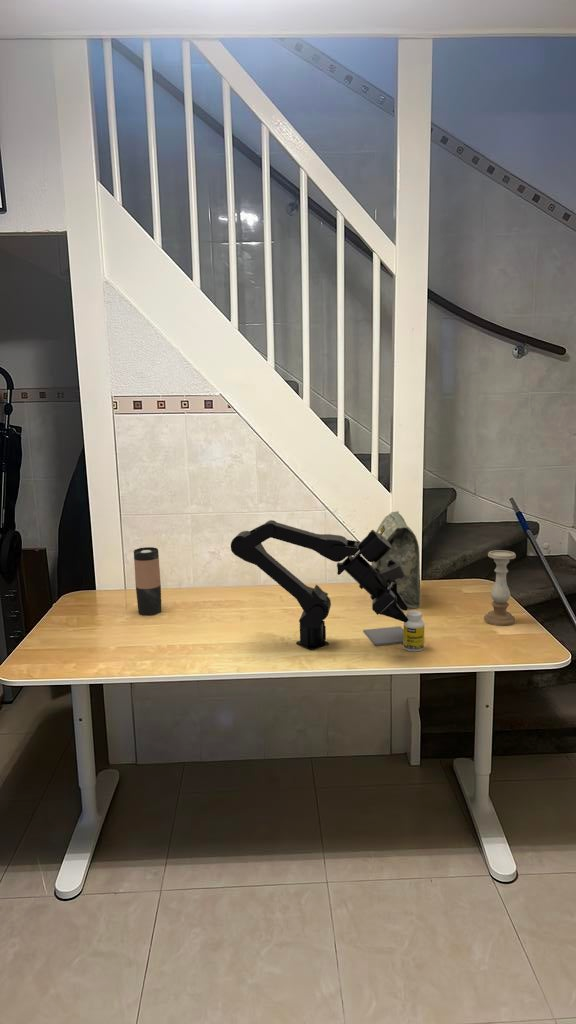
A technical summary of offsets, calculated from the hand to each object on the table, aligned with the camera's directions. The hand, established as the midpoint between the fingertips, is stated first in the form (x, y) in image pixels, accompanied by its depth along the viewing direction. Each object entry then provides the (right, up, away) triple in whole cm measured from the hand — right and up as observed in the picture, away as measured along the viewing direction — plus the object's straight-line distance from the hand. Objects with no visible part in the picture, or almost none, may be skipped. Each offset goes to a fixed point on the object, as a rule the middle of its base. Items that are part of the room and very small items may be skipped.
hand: (407, 615), depth 181 cm
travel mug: (-75, -5, +36) cm, 83 cm away
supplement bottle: (+2, -9, +1) cm, 9 cm away
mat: (-4, -8, +10) cm, 13 cm away
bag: (+3, -1, +43) cm, 43 cm away
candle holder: (+30, -5, +20) cm, 37 cm away
